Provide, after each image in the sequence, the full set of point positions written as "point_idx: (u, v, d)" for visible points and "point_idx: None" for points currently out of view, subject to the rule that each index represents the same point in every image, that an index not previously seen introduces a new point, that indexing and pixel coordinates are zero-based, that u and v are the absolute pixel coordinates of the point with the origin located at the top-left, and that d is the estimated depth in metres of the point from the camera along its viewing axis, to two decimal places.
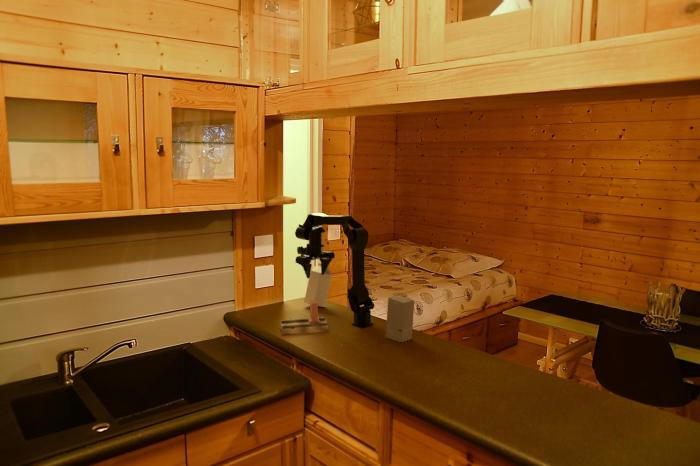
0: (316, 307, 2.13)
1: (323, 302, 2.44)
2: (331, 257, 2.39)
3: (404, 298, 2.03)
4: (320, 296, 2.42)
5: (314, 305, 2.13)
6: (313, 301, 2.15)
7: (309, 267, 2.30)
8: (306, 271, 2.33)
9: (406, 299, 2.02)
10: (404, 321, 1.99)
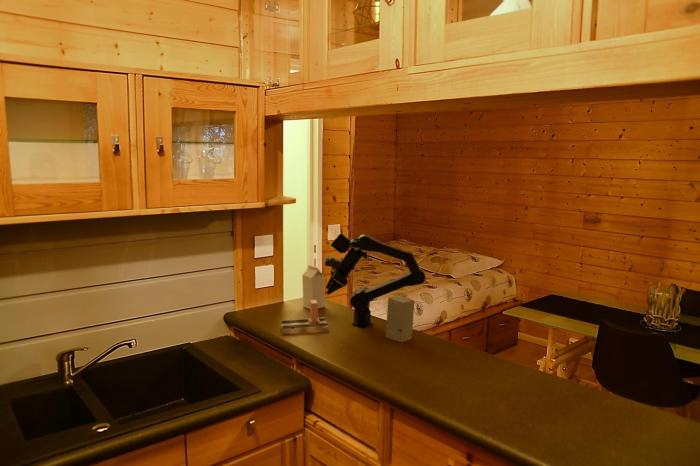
0: (316, 307, 2.13)
1: (322, 303, 2.43)
2: None
3: (404, 298, 2.03)
4: (317, 299, 2.41)
5: (314, 305, 2.13)
6: (313, 301, 2.15)
7: None
8: (332, 288, 2.12)
9: (406, 299, 2.02)
10: (404, 321, 1.99)
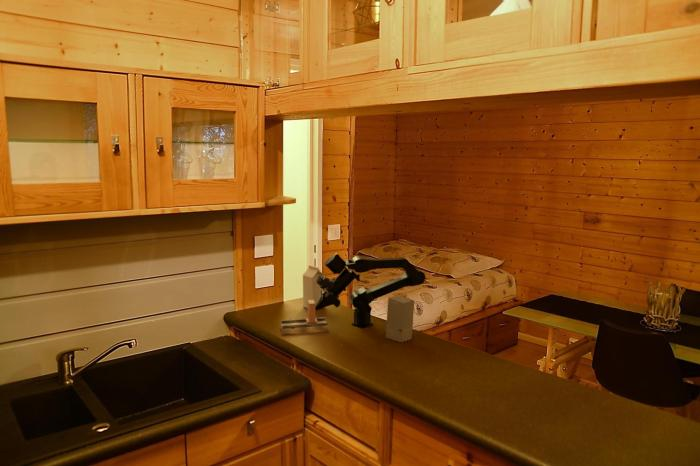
0: (314, 307, 2.13)
1: None
2: None
3: (404, 298, 2.03)
4: (317, 299, 2.41)
5: (312, 305, 2.13)
6: (310, 301, 2.15)
7: None
8: (321, 305, 2.15)
9: (406, 299, 2.02)
10: (404, 321, 1.99)
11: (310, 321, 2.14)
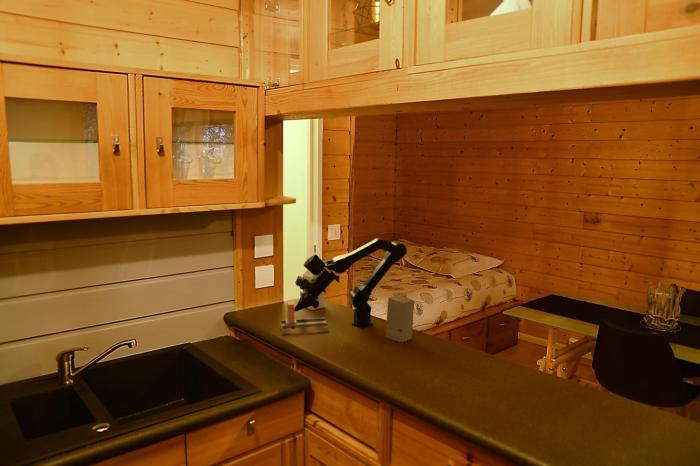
0: (293, 308, 2.11)
1: (322, 303, 2.43)
2: None
3: (404, 298, 2.03)
4: (317, 299, 2.41)
5: (291, 307, 2.11)
6: (290, 302, 2.14)
7: None
8: (301, 306, 2.13)
9: (406, 299, 2.02)
10: (404, 321, 1.99)
11: (289, 322, 2.12)
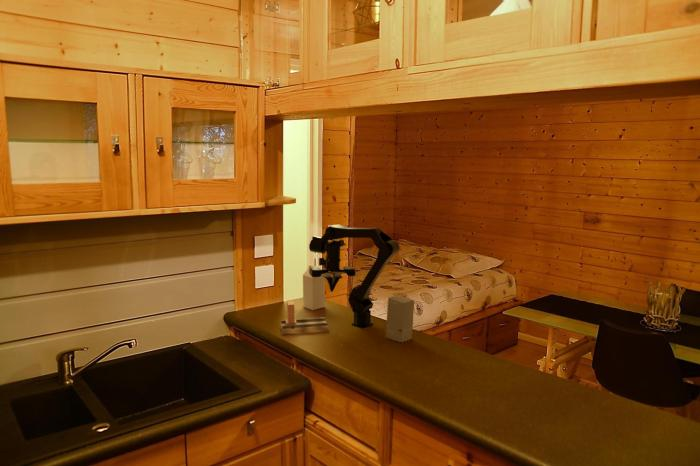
0: (293, 308, 2.11)
1: (322, 303, 2.43)
2: (350, 274, 2.23)
3: (404, 298, 2.03)
4: (317, 299, 2.41)
5: (291, 307, 2.11)
6: (290, 302, 2.14)
7: (329, 280, 2.22)
8: None
9: (406, 299, 2.02)
10: (404, 321, 1.99)
11: (289, 322, 2.12)
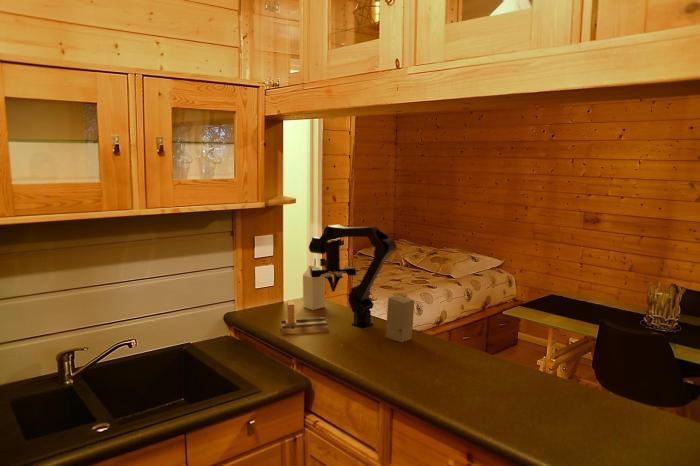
0: (293, 308, 2.11)
1: (322, 303, 2.43)
2: (350, 273, 2.23)
3: (404, 298, 2.03)
4: (317, 299, 2.41)
5: (291, 307, 2.11)
6: (290, 302, 2.14)
7: (330, 280, 2.23)
8: None
9: (406, 299, 2.02)
10: (404, 321, 1.99)
11: (289, 322, 2.12)
